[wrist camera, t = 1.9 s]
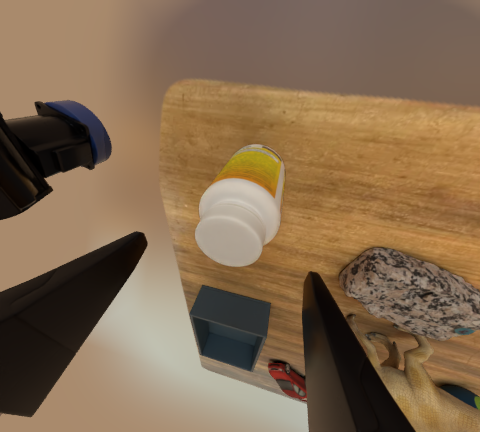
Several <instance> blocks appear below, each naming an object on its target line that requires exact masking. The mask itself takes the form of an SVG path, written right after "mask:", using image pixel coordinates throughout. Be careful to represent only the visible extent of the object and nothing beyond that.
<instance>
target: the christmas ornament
mask: <svg viewBox="0 0 480 432" xmlns="http://www.w3.org/2000/svg"><path fill="white" fill-rule="evenodd" d="M439 388H441V389H443V390H444V391H446V392H448V393H449V394H451V395H452V396H454V397H456V398H457V399H459V400H461V401H463V402H464V403H466V404H468V405H470V406H472V407H474V408H476V409H478V410H480V397H479V396H478V395H476V394H474V393H473V392H471V391H469V390H467V389H464V388H461V387H458V386H453V385H445V386H441V387H439Z"/></svg>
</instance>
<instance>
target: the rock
mask: <svg viewBox="0 0 480 432" xmlns="http://www.w3.org/2000/svg"><path fill="white" fill-rule="evenodd" d="M339 280H340V282H339V283H340V287H342V289H343V291H344V293H345V294H346V296H349V297H353V298H354V299H357V300H358V301H359V302H360V303H362V306H363V307H364V308H365V309H366V310H367V311H368V312H369V313H370V314H372V315H374V316H375V317H376V318H382V317H383V318H385V319H387V320H389V321H391V322H393V323H396V324H397V325H399V326H400V327H402V328H403V329H405V330H407V331H409V332H411V333H413V334H417V335H420V336H423V337H428V338H432V339H435V340H438V341H444V340H448V339H450V338H451V337H457V336H460V335H469V334H471V333H473V332H475V331H476V330H480V292H479V290H478V289H475V288H474V287H473V286H472V285H471V284H469V283H467V282H465V281H464V279H463V278H462V277H460V276H457V275H453V274H452V273H450V272H448V271H446V270H444V269H441V268H439V267H438V266H436V265H434V264H431V263H428V262H425V261H419V260H417V259H415V258H413V257H411V256H408V255H405V254H403V253H402V252H398V251H396V250H393V249H387V248H379V247H376V248H372V249H370V250H367V251H365V252H363V253H362V254H361V256H359V257H357V258H356V259H355V260H354V261H353V262H351V263H350V264H349V266H348V267H347V268H345V269H344V270H343V271H342V272H341V273H340V274H339Z"/></svg>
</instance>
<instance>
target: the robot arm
mask: <svg viewBox="0 0 480 432" xmlns="http://www.w3.org/2000/svg"><path fill="white" fill-rule="evenodd" d="M35 107H36V110H37V113H38V115H36V116H30V117H23V118H16V119H9V120H4V119H3V116H2V114H1V113H0V220H3V219H7V218H10V217H13V216H16V215H18V214H20V213H22V212H24V211H26V210H27V209H29V208H30V207H31V206H33V205H34V204H35V203H37V202H38V201H40V200H41V199H42V198H44V197H45V196H46V195H48V194H49V193H50V192H52V191H53V189H52V187H51V186H49V184H48V183H47V182H46V180H45V179H44V178H47V177H49V176H52V175H55V174H57V173H60V172H63V173H64V172H67V171H69V170H72V169H74V168H76V167H79V166H83V167H85V168H88V169H89V170H92V169H94V168H95V166H94V159H93V153H92V146H91V139H90V133H89V128H88V126H87V125H86V124H84V123H82V122H80V121H78V120H76V119H74V118H72V117H70V116H68V115H66V114H64V113H62V112H60V111H58V110H56V109H54V108H52V107H51V106H49V105H47V104H45V103H43V102H40V101H38V102H35ZM146 247H147V240H146V237H145V235H144V233H142V232H137V231H136V232H133V233H131V234H129V235H127V236H125V237H122V238H120V239H118V240H116V241H114V242H112V243H110V244H108V245H105V246H103V247H101V248H99V249H97V250H94V251H92V252H90V253H88V254H86V255H84V256H81V257H79V258H77V259H75V260H73V261H71V262H69V263H66V264H64V265H62V266H60V267H58V268H56V269H53V270H51V271H49V272H47V273H44V274H42V275H40V276H38V277H36V278H33V279H31V280H29V281H26V282H24V283H21V284H19V285H17V286H14V287H12V288H9V289H7V290H5V291H2V292H0V415H1V414H2V413H4V414H11V415H19V416H26V417H32V416H33V415H34V413H35V412H36V411H37V409H38V408H39V407H40V405H41V404H42V402H43V401H44V399H45V398H46V397H47V395H48V394H49V392H50V391H51V389H52V388H53V386H54V385H55V383H56V382H57V380H58V379H59V378H60V376H61V375H62V373H63V372H64V370H65V369H66V368H67V366H68V365H69V363H70V362H71V360H72V359H73V357H74V356H75V355H76V353H77V352H78V350H79V349H80V347H81V346H82V344H83V343H84V341H85V340H86V339H87V337H88V336H89V334H90V333H91V331H92V330H93V328H94V327H95V326H96V324H97V323H98V321H99V320H100V318H101V317H102V315H103V314H104V312H105V311H106V310H107V308H108V307H109V305H110V304H111V302H112V301H113V300H114V298H115V297H116V295H117V294H118V292H119V291H120V290H121V288H122V287H123V285H124V284H125V282H126V281H127V279H128V278H129V276H130V275H131V273H132V272H133V271H134V269H135V267H136V265H137V264H138V262H139V260H140V258H141V256H142V255H143V253H144V251H145V249H146ZM302 324H303V341H304V358H305V374H306V391H307V408H308V424H309V432H416V431H415V429H414V428H413V426H412V425H411V423H410V422H409V420H408V419H407V418H406V416H405V415H404V413H403V412H402V410H401V409H400V407H399V406H398V404H397V403H396V401H395V400H394V398H393V397H392V395H391V394H390V392H389V391H388V389H387V388H386V386H385V384H384V383H383V381H382V379H381V378H380V376H379V375H378V373H377V371H376V370H375V368H374V366H373V365H372V363H371V361H370V359H369V358H368V357H366V356H367V355H366V353H365V351H364V349H363V348H362V346H361V344H360V343H359V341H358V339H357V338H356V336H355V334H354V332H353V331H352V329H351V327H350V326H349V324H348V322H347V321H346V319H345V317H344V315H343V314H342V312H341V310H340V309H339V307H338V305H337V304H336V302H335V300H334V298H333V297H332V295H331V293H330V292H329V290H328V288H327V287H326V285H325V283H324V281H323V280H322V278H321V276H320V275H319V274H318V273H316V272H312V271H310V272H309V273H308V275H307V277H306V279H305V281H304V289H303V307H302Z"/></svg>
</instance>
